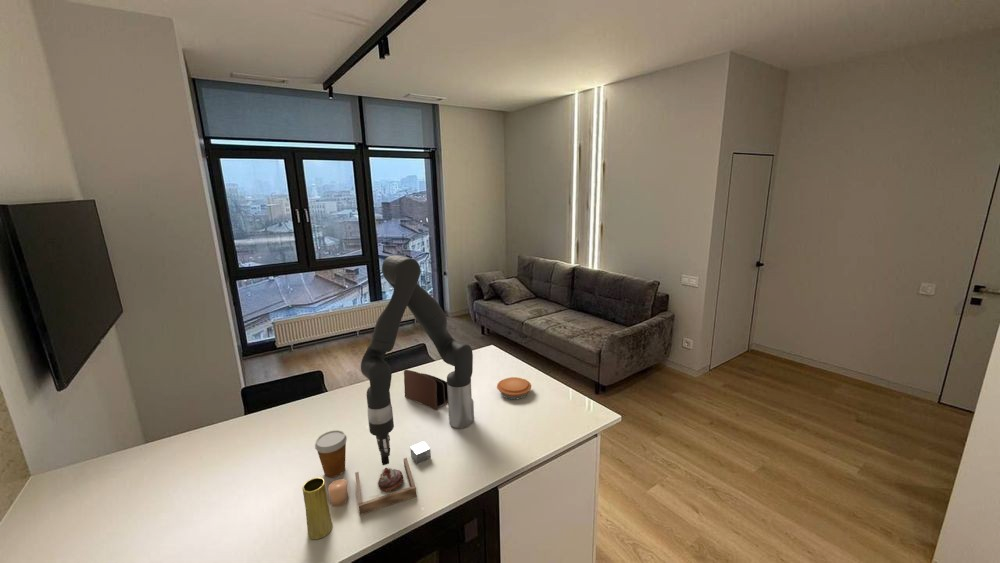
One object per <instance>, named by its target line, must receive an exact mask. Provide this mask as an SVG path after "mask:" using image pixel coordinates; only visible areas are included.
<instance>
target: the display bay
mask: <svg viewBox="0 0 1000 563" xmlns="http://www.w3.org/2000/svg"><path fill="white" fill-rule="evenodd" d="M403 466H404V470H405V474H406V477H407V481H408V484H409V487H405V488H403V489H400V490H397V491H396V490H395V491H392V492H389V493H387V494H385V495H380V496H378V497H374V498H372V499H369V500H366V501H363V498H362V490H361V482H360V481H361V480H360V474H359V471H357V472H354V473H355V474H354V475H355V482H356V483H355V484H356V485H355V486H356V494H357V503H358V506H357V507H358V513H359V516H362V515H365V514H368V513H372V512H373V511H377V510H380V509H383V508H385V507H389V506H392V505H395V504H398V503H400V502H403V501H407V500H410V499H413V498H416V497H417V487H416V484H415V480H414V477H413V474H412V470H411V467H410V464H409V461H408V458H407V457H405V458H403Z"/></svg>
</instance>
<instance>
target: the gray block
mask: <svg viewBox="0 0 1000 563" xmlns="http://www.w3.org/2000/svg"><path fill="white" fill-rule="evenodd" d="M409 449H410V458H411V459H412V460H413V461H414V463H416V465H419V464H422V463H425V462H426V461H429V460H430V459H432V455H431V453H432V452H431V448H430V447H429V446H428V444H427V443H426V442H425V441H421V442H419V443H416V444H414V445H412V446H410V447H409Z"/></svg>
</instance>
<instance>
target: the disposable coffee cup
mask: <svg viewBox="0 0 1000 563" xmlns="http://www.w3.org/2000/svg"><path fill="white" fill-rule="evenodd" d="M347 441H348V435H346V433H345V432H344V431H343V430H338V429H334V430H333V429H332V430H329V431H326V432H323V433H322V434H321V435H319V436H318V437H317V439H316V440H315V444H314V449H315V450H316V451H317V455H318V458H319V462H320V464H321V468H322V470H323V474H324V476H325V477H327V478H334V477H339V476H340V475H342V474H343V473H344V471H345V470H346V449H347V448H346V447H347V446H346V444H347Z"/></svg>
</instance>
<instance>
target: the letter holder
mask: <svg viewBox="0 0 1000 563" xmlns="http://www.w3.org/2000/svg"><path fill="white" fill-rule="evenodd" d="M403 378H404V379H403V382H404V397H405V398H406V399H409V400H412V401H414V402H417V403H419V404H421V405H424V406H426V407H428V408H430V409H432V410H435V411H438V410H440V409H441V408H443V407H444V406H446V405H448V392H447V380H443V379H441V378H439V377H436V376H434V375H431V374H427V373H423V372H421V373H420V372H418V371H414V370H409V369H405V370H404V371H403Z"/></svg>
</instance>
